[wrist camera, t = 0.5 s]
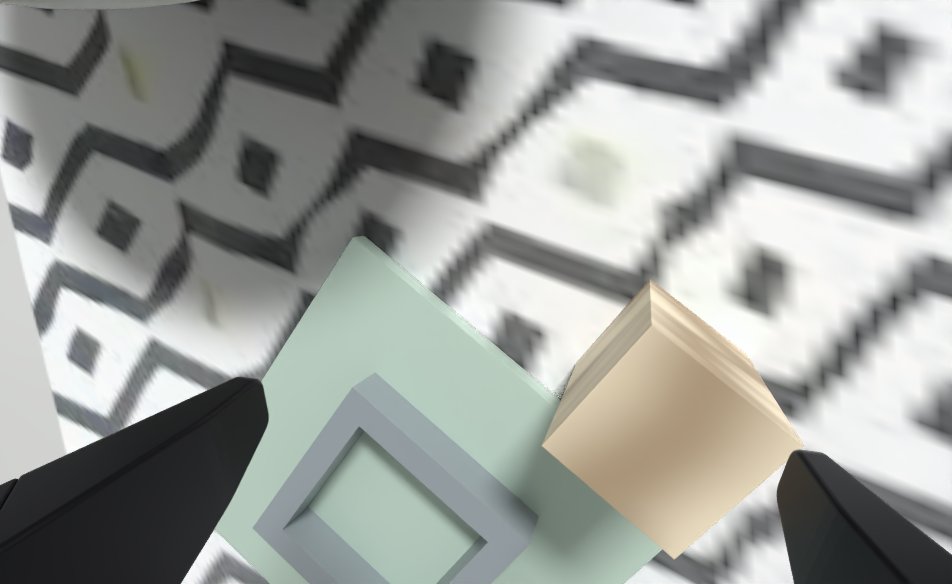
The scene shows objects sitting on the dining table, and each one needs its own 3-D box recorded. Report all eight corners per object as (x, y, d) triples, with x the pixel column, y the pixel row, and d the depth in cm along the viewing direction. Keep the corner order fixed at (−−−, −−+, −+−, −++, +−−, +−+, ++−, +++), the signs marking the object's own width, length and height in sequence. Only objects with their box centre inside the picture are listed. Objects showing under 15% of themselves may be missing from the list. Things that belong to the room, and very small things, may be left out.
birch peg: (746, 353, 20) (804, 445, 13) (664, 433, 22) (674, 559, 14) (649, 279, 21) (651, 324, 13) (576, 362, 22) (541, 445, 15)
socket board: (690, 508, 22) (696, 554, 19) (445, 730, 28) (422, 790, 25) (364, 235, 24) (326, 240, 21) (200, 491, 30) (153, 522, 27)
